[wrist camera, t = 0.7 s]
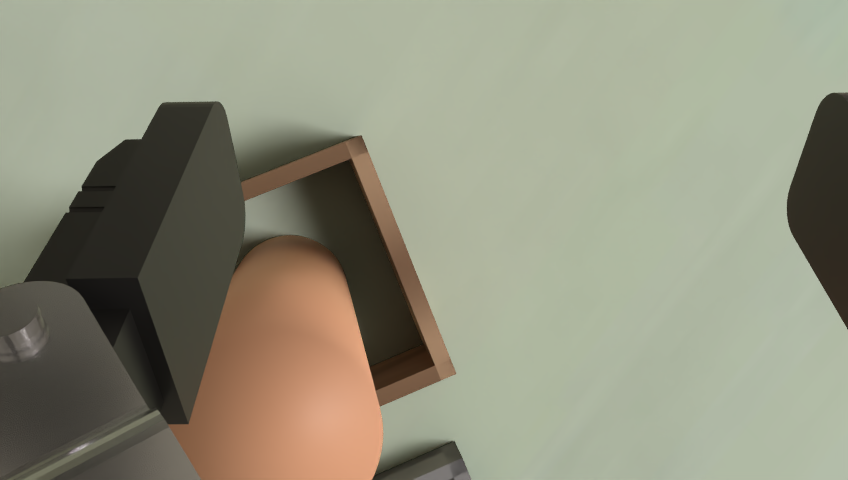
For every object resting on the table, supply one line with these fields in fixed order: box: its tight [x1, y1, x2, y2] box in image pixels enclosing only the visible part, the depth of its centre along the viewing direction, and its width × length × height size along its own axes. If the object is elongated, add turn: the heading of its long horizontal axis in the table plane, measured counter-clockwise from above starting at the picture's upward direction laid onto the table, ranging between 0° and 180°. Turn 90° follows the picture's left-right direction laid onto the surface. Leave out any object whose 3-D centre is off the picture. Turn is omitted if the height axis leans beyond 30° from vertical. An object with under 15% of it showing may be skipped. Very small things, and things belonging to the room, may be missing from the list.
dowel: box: [168, 235, 383, 480], centre depth 22 cm, size 4×4×15 cm
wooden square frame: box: [241, 135, 456, 406], centre depth 28 cm, size 9×9×3 cm
